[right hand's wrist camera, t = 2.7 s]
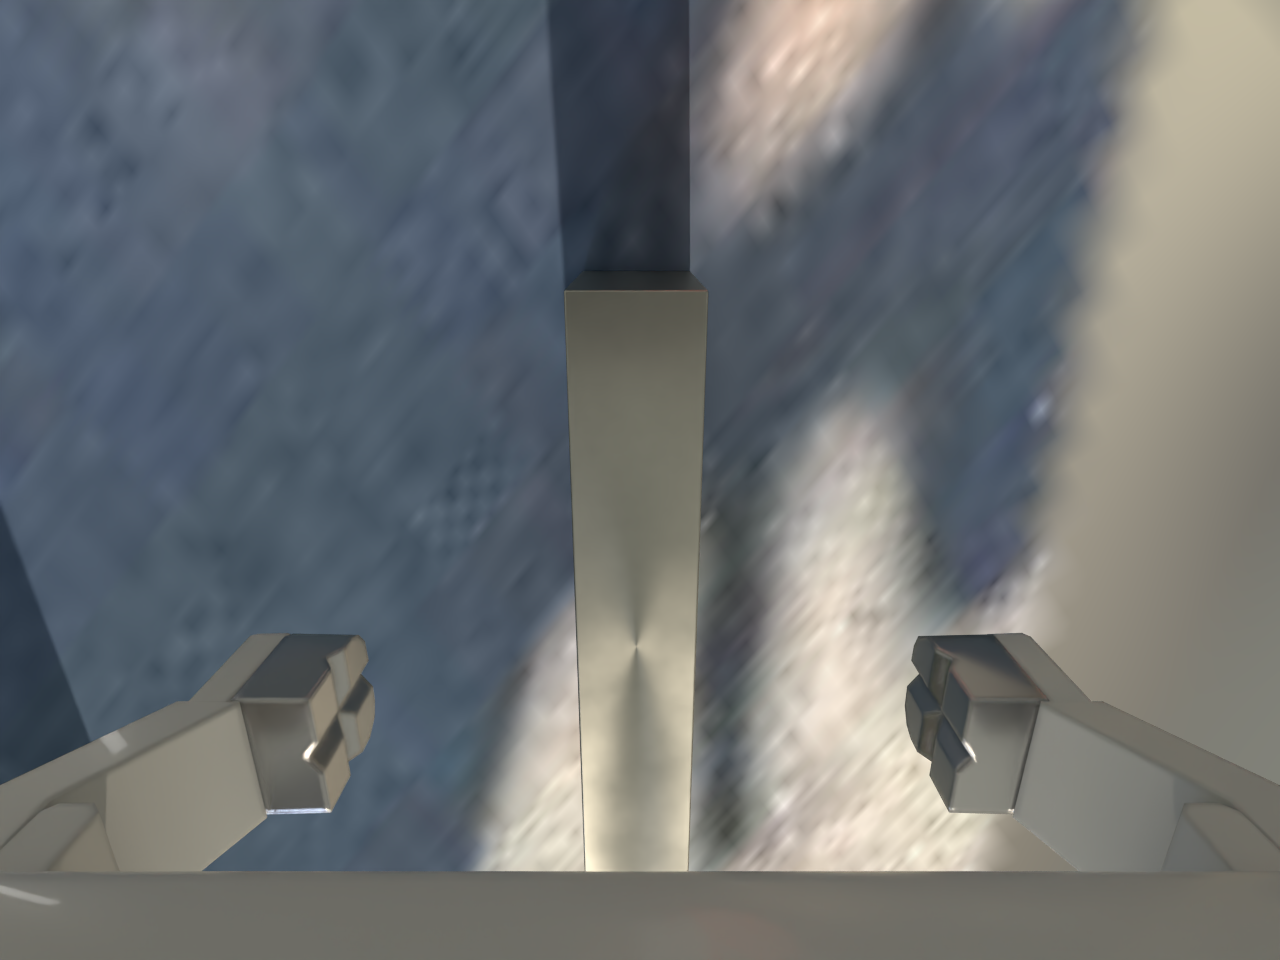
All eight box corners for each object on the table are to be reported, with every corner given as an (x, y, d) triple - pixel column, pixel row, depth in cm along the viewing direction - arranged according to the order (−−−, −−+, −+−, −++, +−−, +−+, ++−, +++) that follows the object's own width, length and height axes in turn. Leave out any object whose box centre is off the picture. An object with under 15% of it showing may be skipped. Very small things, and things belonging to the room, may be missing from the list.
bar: (582, 271, 29) (563, 290, 22) (690, 270, 30) (708, 290, 22) (595, 766, 39) (585, 897, 31) (677, 765, 39) (687, 897, 31)
